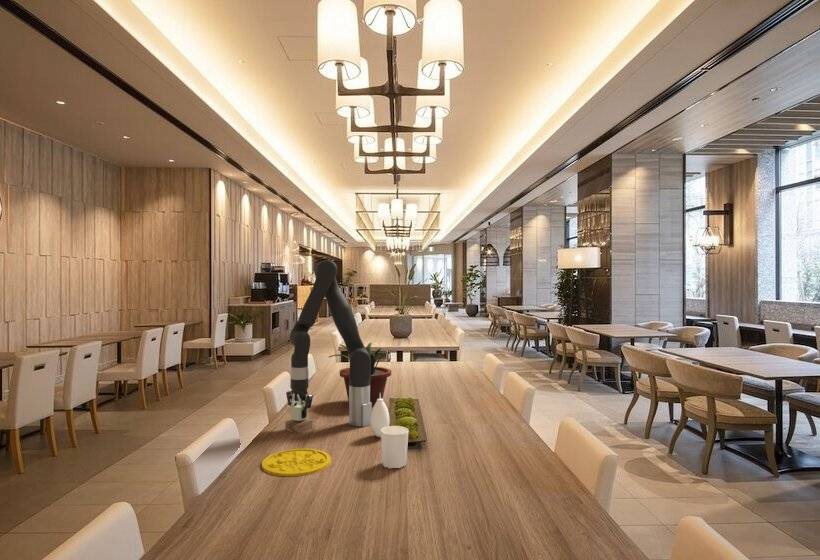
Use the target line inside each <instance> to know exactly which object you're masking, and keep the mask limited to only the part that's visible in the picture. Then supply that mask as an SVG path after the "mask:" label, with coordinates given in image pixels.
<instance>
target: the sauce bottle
mask: <svg viewBox="0 0 820 560" xmlns="http://www.w3.org/2000/svg"><path fill="white" fill-rule="evenodd" d="M369 425H370V429H371V432H372V433H373V435H374V436H376V437H377V438H381V429H382V428H384V427H387V426H390V413H389V410H388V407H387V404H386V403H385V402H384V398H383V399H381V394H380V399H377V402H376V403H375V405H374V407H373V408H372V413H371V418H370V424H369Z"/></svg>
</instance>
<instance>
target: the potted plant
mask: <svg viewBox="0 0 820 560" xmlns="http://www.w3.org/2000/svg"><path fill="white" fill-rule="evenodd" d="M339 346H340V347H342V348H344V349H345V350H346V351H347V348H346V345H345V344H339ZM371 347H372V342H369V343H368V344H367V346H365V348H366V350H367V352H368V353H369V355H370V358H371V379H370V402H372V409H373V407H374V405H375V403H376V402H377V399H380V394H381V399H383V400H384V395H385V389H386V385H387V381H388V378H389V377H391V376H392V369H390V368H387V367H383V366H378V364H379V362H380V360H381V359H382V357H384V356H385V355H386V354H390V353H391V352H389V351H386V352H384V353H382V354H380V355H378V354H379V352H380V351H381V349H382V348H379V349H377V350H376V351H375V352H374V353H373V354H371ZM377 355H378V356H377ZM332 357H344V358H346V359H348V360H349V356H347V355H344V354H333V355H330V356H328V358H332ZM339 376H340V377H341V378H343V380H344V385H345V386H344V387H345V391H346V395H347V400H348V402H349V379H350V367H346V368H343V369H340V370H339Z"/></svg>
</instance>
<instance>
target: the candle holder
mask: <svg viewBox="0 0 820 560" xmlns="http://www.w3.org/2000/svg"><path fill="white" fill-rule="evenodd" d="M409 432H410V430H409V429H408V428H407V427H406V426H400V425H389V426H387V427H384V428H382V429H381V437H380V442H381V462H382V463H381V464H382V466H383V467H384V468H386V467H388V468H387V469H390V468H399V469H401V468H400V467H403V466H404V467H405V465H407V460H408V459H407V458H408V447H409V446H408V442H409ZM404 467H403V468H404Z"/></svg>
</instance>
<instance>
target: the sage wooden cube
mask: <svg viewBox="0 0 820 560" xmlns="http://www.w3.org/2000/svg"><path fill="white" fill-rule="evenodd" d="M308 409H309V408H308ZM308 409H307V416H306V418H304V419H309V418H308V415H309V414H308ZM292 419H293V420H297V421H300V420H303V418H302V408H301V405H300V404H297V406H293V407H291V406H290V420H292Z"/></svg>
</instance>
